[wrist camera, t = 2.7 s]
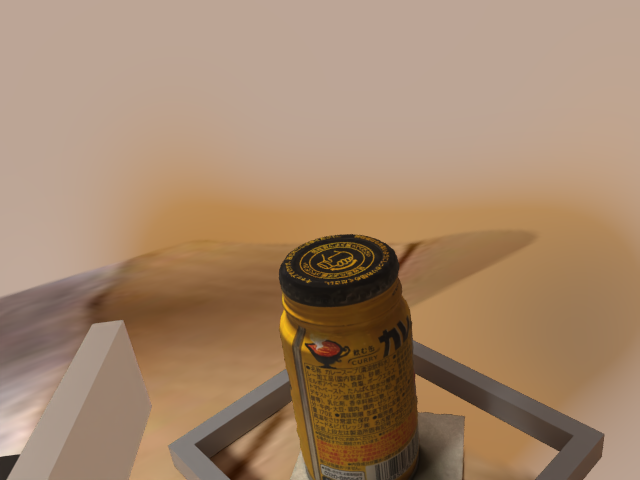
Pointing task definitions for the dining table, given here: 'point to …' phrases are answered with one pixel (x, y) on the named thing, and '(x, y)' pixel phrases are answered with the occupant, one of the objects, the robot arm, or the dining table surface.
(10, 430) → the dining table surface
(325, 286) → the yellow cylindrical jar
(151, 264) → the dining table surface
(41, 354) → the dining table surface
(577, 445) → the square collar
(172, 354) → the dining table surface
